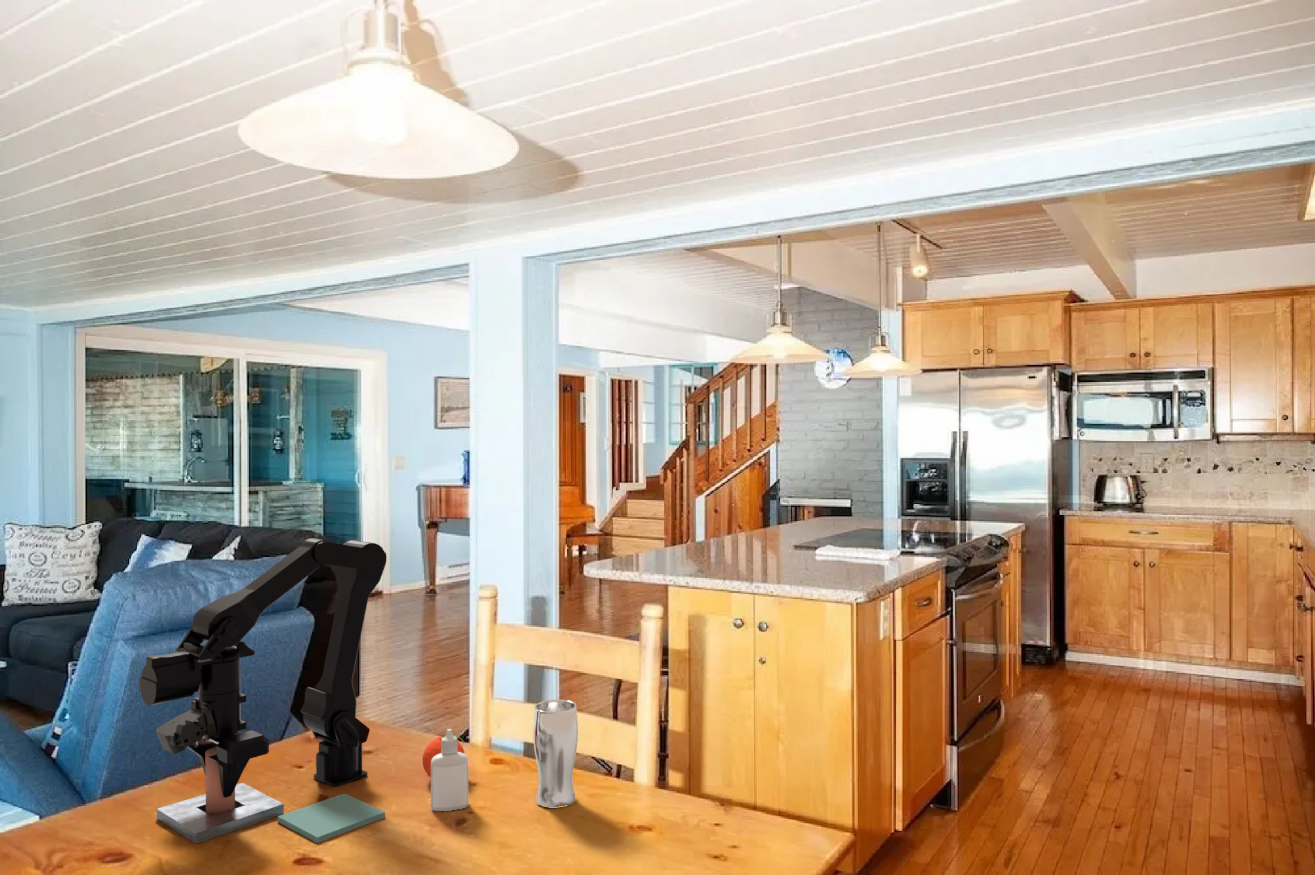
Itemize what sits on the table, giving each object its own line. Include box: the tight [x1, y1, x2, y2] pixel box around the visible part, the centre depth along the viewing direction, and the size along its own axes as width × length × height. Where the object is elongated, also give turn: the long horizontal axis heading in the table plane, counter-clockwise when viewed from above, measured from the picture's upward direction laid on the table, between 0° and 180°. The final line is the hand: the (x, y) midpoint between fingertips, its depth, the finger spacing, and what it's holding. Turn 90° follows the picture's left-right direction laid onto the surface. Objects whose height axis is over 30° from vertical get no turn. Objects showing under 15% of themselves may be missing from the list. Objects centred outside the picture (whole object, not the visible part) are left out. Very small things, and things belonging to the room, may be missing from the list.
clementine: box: [422, 735, 466, 778], centre depth 153 cm, size 8×7×7 cm
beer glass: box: [532, 699, 579, 807], centre depth 143 cm, size 7×7×15 cm
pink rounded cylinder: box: [205, 747, 235, 816], centre depth 138 cm, size 4×4×10 cm
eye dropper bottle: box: [430, 728, 469, 812], centre depth 141 cm, size 4×6×12 cm
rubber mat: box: [277, 793, 386, 844], centre depth 137 cm, size 11×11×1 cm
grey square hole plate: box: [156, 782, 285, 845], centre depth 138 cm, size 13×13×2 cm
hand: (220, 793), depth 138 cm, fingers closed on pink rounded cylinder, 4 cm apart
